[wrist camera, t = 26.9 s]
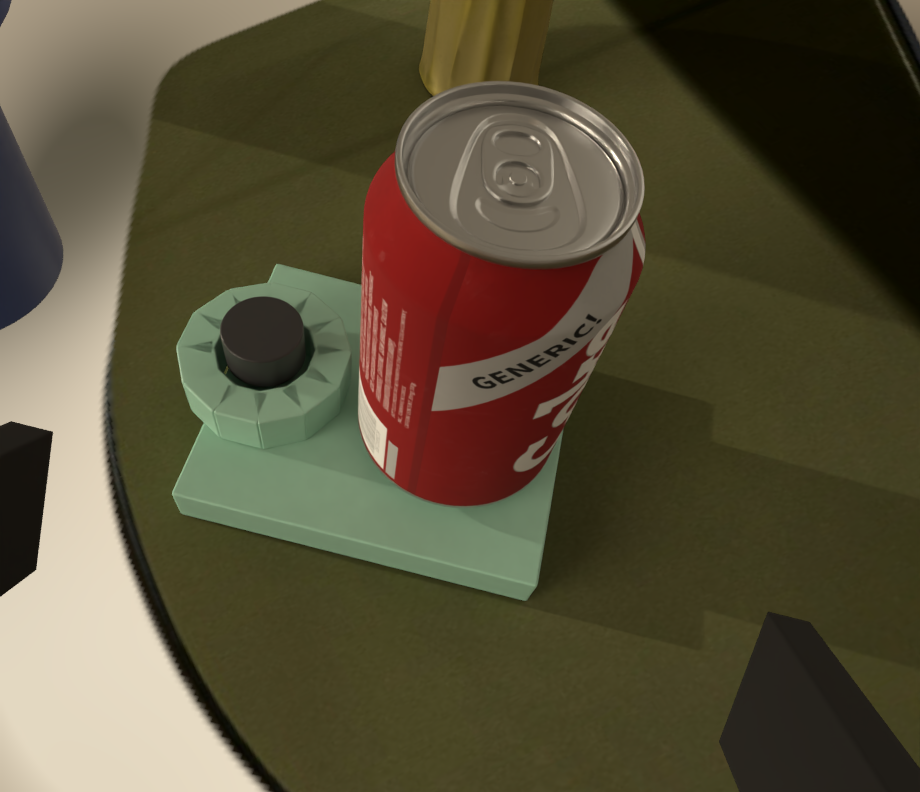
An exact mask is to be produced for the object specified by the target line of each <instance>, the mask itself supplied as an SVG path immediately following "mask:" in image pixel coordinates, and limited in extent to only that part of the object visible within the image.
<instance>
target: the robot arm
mask: <svg viewBox="0 0 920 792" xmlns="http://www.w3.org/2000/svg"><path fill="white" fill-rule="evenodd" d="M52 435H53V432H51V431H47V430H43V429H39V428H35V427H31V426H27V425H23V424H20V423H15V422H12V421H11V422H9V423H6V424H4V425H2V426H0V596H2V595H3V594H5V593H6V592H7V591H8V590H10V589H11V588H13V587H14V586H15V585H17V584H18V583H19V582H20V581H22V580H23V579H25V578H26V577H27V576H28V575H29V574H31V573H32V572H34V571H35V570H36V566H37V558H38V549H39V542H40V533H41V525H42V517H43V509H44V501H45V493H46V484H47V476H48V468H49V460H50V452H51V443H52ZM719 743H720V745H721V747H722V750H723V752H724V755H725V757H726V760H727V762H728V765H729V767H730V770H731V772H732V774H733V777H734V779H735V782H736V784H737V787H738V789H739V792H920V768H919V767H918V766H917V764H916V763H915V762H914V760H913V759H912V758H911V756H910V755H909V754H908V752H907V751H906V750H905V748H904V747H903V746H902V744H901V743H900V742H899V740H898V739H897V738H896V736H895V735H894V734H893V732H892V731H891V730H890V728H889V727H888V726H887V724H886V723H885V722H884V720H883V719H882V718H881V716H880V715H879V714H878V712H877V711H876V710H875V708H874V707H873V706H872V704H871V703H870V702H869V700H868V699H867V698H866V696H865V695H864V694H863V692H862V691H861V690H860V688H859V687H858V686H857V684H856V683H855V682H854V680H853V679H852V678H851V676H850V675H849V674H848V672H847V671H846V670H845V668H844V667H843V666H842V664H841V663H840V662H839V660H838V659H837V658H836V656H835V655H834V654H833V652H832V651H831V650H830V649H829V647H828V646H827V645H826V643H825V642H824V641H823V639H822V638H821V637H820V635H819V634H818V633H817V631H816V630H815V629H814V627H813V626H812V625H811V623H810V622H807V621H803V620H799V619H795V618H791V617H787V616H783V615H779V614H775V613H772V612H768V613H767V615H766V618H765V621H764V623H763V626H762V629H761V631H760V634H759V637H758V639H757V642H756V645H755V647H754V650H753V653H752V655H751V658H750V661H749V663H748V666H747V669H746V671H745V674H744V677H743V679H742V682H741V684H740V687H739V690H738V692H737V695H736V698H735V700H734V703H733V706H732V708H731V711H730V714H729V716H728V719H727V722H726V724H725V727H724V730H723V732H722V735H721V738H720V740H719Z"/></svg>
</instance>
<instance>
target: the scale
mask: <svg viewBox="0 0 920 792" xmlns="http://www.w3.org/2000/svg"><path fill="white" fill-rule="evenodd" d="M361 290H362V285H360V284H356V283H352V282H348V281H344V280H340V279H336V278H332V277H328V276H324V275H320V274H316V273H312V272H308V271H304V270H300V269H296V268H292V267H288V266H285V265H281V264H276V266H275V268H274V270H273V272H272V275H271V277H270V279H269V281H268V283H264V284H257V285H251V286H245V287H239V288H233V289H230V290H227V291H225V292H224V293H222V294H221V295H219V296H218V297H216V298H215V299H213V300H212V301H210V302H208V303H207V304H205V305H204V306H202V307H201V308H199V309H198V310H196V311H195V312H194V313H193V314H192V316H191V318H190V320H189V322H188V324H187V326H186V328H185V330H184V332H183V334H182V336H181V338H180V340H179V342H178V344H177V348H176V349H177V355H178V361H179V367H180V373H181V379H182V384H183V387H184V390H185V393H186V396H187V399H188V401H189V404H190V407H191V409H192V411H193V412H194V413H195V414H196V415H197V416H198V417H199V418H200V419H201V420H202V421H203V422H204V424H203V426H202V428H201V430H200V433H199V435H198V437H197V439H196V441H195V443H194V446H193V448H192V450H191V452H190V454H189V457H188V459H187V461H186V463H185V465H184V468H183V470H182V472H181V474H180V476H179V479H178V481H177V483H176V485H175V487H174V490H173V492H172V496H173V498H174V500H175V502H176V504H177V506H178V508H179V510H180V512H181V513H182V514H184V515H188V516H192V517H196V518H200V519H204V520H208V521H212V522H216V523H220V524H224V525H228V526H232V527H235V528H239V529H243V530H247V531H251V532H255V533H259V534H263V535H267V536H271V537H275V538H279V539H283V540H287V541H291V542H295V543H299V544H302V545H306V546H310V547H314V548H318V549H322V550H326V551H330V552H334V553H338V554H342V555H346V556H350V557H354V558H358V559H362V560H366V561H369V562H373V563H377V564H381V565H385V566H389V567H393V568H397V569H401V570H405V571H409V572H413V573H417V574H421V575H425V576H429V577H433V578H436V579H440V580H444V581H448V582H452V583H456V584H460V585H464V586H468V587H472V588H476V589H480V590H484V591H488V592H492V593H496V594H500V595H503V596H507V597H511V598H515V599H519V600H523V601H527V600H528V598H529V597H530V595H531V594H532V593H533V591H534V590H535V588H536V587H537V585H538V580H539V574H540V568H541V562H542V556H543V550H544V544H545V537H546V531H547V525H548V519H549V513H550V507H551V501H552V495H553V489H554V483H555V477H556V471H557V465H558V459H559V453H560V447H561V440H562V434H563V430H562V432H561V434H560V436H559V438H558V440H557V442H556V444H555V446H554V448H553V450H552V452H551V454H550V456H549V458H548V460H547V462H546V464H545V465H544V467H543V468H542V470H541V471H540V473H539V474H538V475H537V476H536V478H535V479H534V480H533V481H532V482H531V483H530V484H529V485H527V486H526V487H525V488H524V489H522V490H521V491H520V492H518V493H516V494H515V495H513V496H511V497H509V498H507V499H505V500H503V501H500V502H497V503H495V504H491V505H487V506H482V507H476V508H450V507H443V506H438V505H434V504H431V503H428V502H424V501H422V500H420V499H417V498H415V497H413V496H411V495H409V494H407V493H405V492H404V491H402V490H401V489H399V488H398V487H396V486H395V485H394V484H393V483H391V482H390V481H389V480H388V479H387V478H386V477H385V476H384V475H383V474H382V473H381V472H380V471H379V469H378V468H377V467H376V466H375V464H374V463H373V461H372V460H371V458H370V457H369V455H368V453H367V451H366V449H365V446H364V444H363V442H362V438H361V435H360V430H359V424H358V395H359V360H360V325H361ZM259 296H267V297H274V298H278V299H281V300H283V301H285V302H287V303H289V304H290V305H291V306H293V307H294V308H295V309H296V310H297V312H298V313H299V314H300V316H301V318H302V321H303V325H304V337H305V350H306V356H305V361H304V364H303V366H302V368H301V369H300V371H299V372H298V373H297V374H296V375H295V376H294V377H293V378H292V379H290V380H289V381H287V382H285V383H283V384H280V385H277V386H272V387H256V386H252V385H249V384H246V383H244V382H242V381H241V380H239V379H238V378H236V377H235V376H234V375H233V374H232V372H231V371H230V369H228V371H227V373H226V375H225V374H224V371H225V369H226V366H227V362H226V358H225V354H224V350H223V346H222V341H221V337H220V326H221V322H222V320H223V318H224V316H225V314H226V313H227V312H228V311H229V310H230V309H231V308H232V307H233V306H234V305H236V304H237V303H239V302H241V301H243V300H245V299H248V298H252V297H259Z"/></svg>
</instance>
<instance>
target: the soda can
mask: <svg viewBox="0 0 920 792" xmlns="http://www.w3.org/2000/svg"><path fill="white" fill-rule="evenodd" d="M643 197H644V176H643V171H642V167H641V164H640V161H639V159H638V157H637V155H636V153H635V151H634V149H633V148H632V146H631V144H630V143H629V142H628V140H627V139H626V137H625V136H624V135H623V134H622V133H621V132H620V131H619V129H618V128H617V127H616V126H615V125H613V124H612V123H611V122H610V121H609V120H608V119H607V118H605V117H604V116H603V115H602V114H600V113H599V112H597V111H596V110H594V109H593V108H591V107H590V106H588V105H586V104H585V103H583V102H581V101H579V100H577V99H575V98H573V97H571V96H568V95H566V94H564V93H561V92H558V91H555V90H552V89H549V88H546V87H542V86H538V85H533V84H528V83H522V82H512V81H485V82H476V83H470V84H465V85H461V86H457V87H454V88H451V89H448V90H445V91H443V92H441V93H439V94H437V95H435V96H433V97H431V98H430V99H428V100H427V101H425V102H424V103H422V104H421V105H420V106H419V107H418V108H417V109H416V110H414V112H413V113H412V114H411V115H410V116H409V117H408V119H407V120H406V122H405V123H404V125H403V127H402V129H401V131H400V134H399V137H398V140H397V144H396V149H395V152H394V153H393V154H391V155H390V156H389V157H388V159H387V160H386V161H385V162H384V163H383V164H382V166H381V167H380V169H379V170H378V172H377V173H376V175H375V176H374V178H373V180H372V182H371V185H370V187H369V190H368V193H367V196H366V201H365V206H364V220H363V254H362V290H361V325H360V360H359V395H358V424H359V430H360V435H361V438H362V442H363V444H364V446H365V449H366V451H367V453H368V455H369V457H370V458H371V460H372V461H373V463H374V464H375V466H376V467H377V468H378V469H379V471H380V472H381V473H382V474H383V475H384V476H385V477H386V478H387V479H388V480H389V481H390V482H391V483H393V484H394V485H395V486H396V487H398V488H399V489H401V490H402V491H404V492H405V493H407V494H409V495H411V496H413V497H415V498H417V499H420V500H422V501H424V502H428V503H431V504H434V505H438V506H443V507H450V508H476V507H482V506H487V505H491V504H495V503H497V502H500V501H503V500H505V499H507V498H509V497H511V496H513V495H515V494H516V493H518V492H520V491H521V490H522V489H524V488H525V487H526V486H527V485H529V484H530V483H531V482H532V481H533V480H534V479H535V478H536V476H537V475H538V474H539V473H540V471H541V470H542V468H543V467H544V465H545V464H546V462H547V460H548V458H549V456H550V454H551V452H552V450H553V448H554V446H555V444H556V442H557V440H558V438H559V436H560V434H561V432H562V430H563V428H564V426H565V424H566V422H567V420H568V418H569V416H570V414H571V412H572V410H573V408H574V406H575V404H576V402H577V400H578V398H579V396H580V394H581V393H582V391H583V389H584V387H585V385H586V383H587V381H588V379H589V377H590V375H591V373H592V371H593V369H594V367H595V365H596V363H597V361H598V359H599V357H600V355H601V353H602V351H603V349H604V347H605V345H606V343H607V341H608V339H609V337H610V335H611V333H612V331H613V329H614V327H615V325H616V323H617V321H618V320H619V318H620V316H621V314H622V312H623V310H624V308H625V306H626V304H627V302H628V300H629V298H630V296H631V294H632V292H633V290H634V288H635V286H636V284H637V282H638V280H639V277H640V274H641V271H642V268H643V263H644V258H645V233H644V228H643V223H642V220H641V216H640V213H639V212H640V209H641V206H642V202H643Z"/></svg>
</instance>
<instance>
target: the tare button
mask: <svg viewBox="0 0 920 792" xmlns="http://www.w3.org/2000/svg"><path fill="white" fill-rule="evenodd" d="M220 337H221V341H222V346H223V350H224V354H225V358H226V362H227V365H228V367H229V369H230V371H231V372H232V374H233V375H234V376H235V377H236V378H238V379H239V380H241V381H242V382H244V383H246V384H249V385H252V386H256V387H272V386H277V385H280V384H283V383H285V382H287V381H289V380H290V379H292V378H293V377H294V376H295V375H296V374H297V373H298V372H299V371H300V369H301V368H302V366H303V364H304V361H305V356H306V350H305V337H304V325H303V321H302V318H301V316H300V314H299V313H298V312H297V310H296V309H295V308H294V307H293V306H291V305H290V304H289V303H287V302H285V301H283V300H281V299H278V298H274V297H267V296H259V297H252V298H248V299H245V300H243V301H241V302H239V303H237V304H236V305H234V306H233V307H232V308H231V309H230V310H229V311H228V312H227V313H226V314H225V316H224V318H223V320H222V322H221V326H220Z"/></svg>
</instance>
